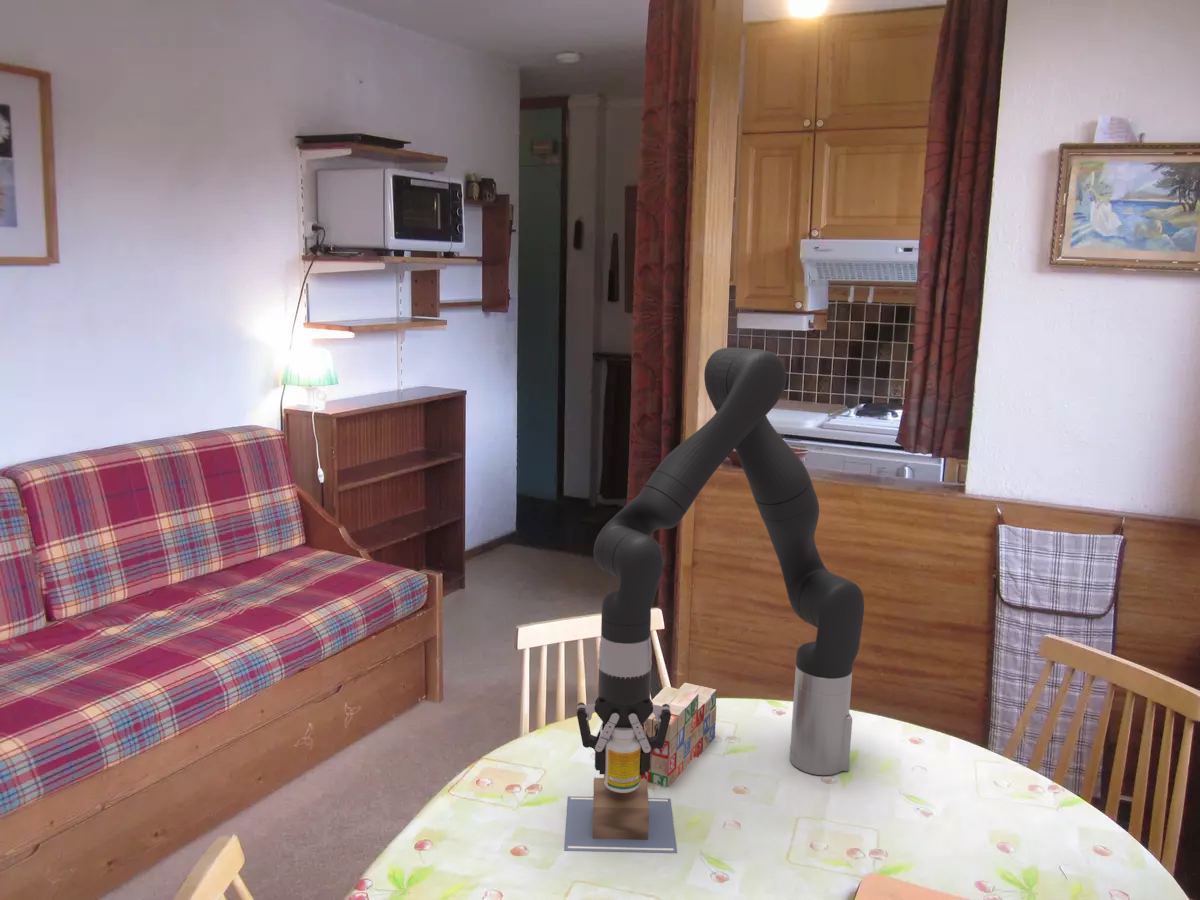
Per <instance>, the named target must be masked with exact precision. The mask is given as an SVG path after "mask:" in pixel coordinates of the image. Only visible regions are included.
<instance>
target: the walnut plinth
mask: <svg viewBox="0 0 1200 900" xmlns="http://www.w3.org/2000/svg"><path fill="white" fill-rule="evenodd" d="M592 797H593V839H631V840H648V828H649V800H648V798H649V791H648V781H647V779H640V784H639V786H638V788H637V789H635V790H634V791H632V792H628V793H618V792H615V791H612V790H610V789H608V788H607V787H606V786H605V784H604V777H593V796H592Z"/></svg>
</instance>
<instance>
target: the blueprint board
mask: <svg viewBox="0 0 1200 900" xmlns="http://www.w3.org/2000/svg"><path fill="white" fill-rule="evenodd" d="M648 800H649V828H648V840H631V839H593V796H578V795H577V796H576V795H575V796H573V795H572V796H570V795H568V796H567V801H566V802H567V803H566V814H565V815H566V816H565V829H564V830H565V834H564V847H563V851H565V852H592V853H593V852H595V853H596V852H598V853H603V852H604V853H636V854H637V853H640V854H641V853H643V854H644V853H645V854H646V853H647V854H678V849H677V841H676V832H675V824H674V817H673V809H672V801H671V798H661V797H660V798H657V797H648Z"/></svg>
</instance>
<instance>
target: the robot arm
mask: <svg viewBox="0 0 1200 900" xmlns="http://www.w3.org/2000/svg"><path fill="white" fill-rule="evenodd" d="M785 366H786V365H784V363H783V360H782V359H781V358H780V357H779V356H778V355H777V354H776V353H774V352H772V351H769V350H765V349H760V348H759V349H758V348H748V347H747V348H745V347H722V348H720V349H717V350H715V351H714V352H712V354H711V355H710V356H709V358H708V359H707V362H706V363H705V366H704V373H703V374H704V377H703V378H704V386H705V390H706V393H707V397H708V398H709V400H710V402H711V404H712V406H713V408H714V410H715V414H714V415H713V416H712V417H711V418H710V419H708V421H707V422H706V423H705V424H704V425H702V427H700V428H699V429H698V430H697V431H696V432H694V433H693V434H692V435H690V436H689V437H687V438H686V439H685V440H684V441H682V442H681V443H680V444H678V445H677V446H676V447H675V448H674V449H673V450H672V451H670V452H669V453H668V454H667V455H666V456H665V457H664V458H663V460H662V461H661V462H660V463H659V465H658V466H657V467H656V469H655V470H654V472H652V474H651V476H650V477H649V479H648V481H646V483H645V484H644V486H643V488H642V489H641V490H640V492H639V494H638V495H637V496H636V497H635V498H633V499H632V500H631V501H629V502H628V503H627V504H626V505H625V506H624V507H623V508H622V509H620V510H619V511H618V512H617V513H616V514H614V516H613V517H612V518H611V519H610V520H608V522H607V523H605V525H604V526H603V527H602V529H600V531H599V533H598V534H597V536H596V539H595V541H594V546H593V559H594V561H595V563H596V565H597V566H598V568H600V569H601V570H603V571H605V573H608V574H610V575H612V576H615V577H617V578H619V587H618V588H619V589H617V590H614V591H612V592H609V593H608V594H607V595H606V596H605V597H603V598H604V599H603V600H602V604H601V605H602V606H601V623H600V624H601V627H600V633H601V634H600V641H599V647H598V660H597V661H598V677H597V678H598V680H597V682H598V685H597V698H596V700H595V702H594V703H587V704H585V702H579V703H577V705H576V717H577V722H578V727H579V732H580V738H581V742H582V747H584V748H585V749H586V748H587V749H588V748H591V749H593V750H594V769H595V771H598V772H599V775H604V762H605V744H606V742H607V740H608V739H609V737H610V735H611V733H612V731H613V729H614V727H618V728H633V729H634V732H635V734H636V736H637V739H638V741H639V742H640V745H641V769H640V775H645V771H649V770H650V757H651V751H652V750H653V749H656V748H657V749H661V748H663V745H664V741H665V737H666V734H667V730H668V726H669V722H670V718H671V712H670V706H669V705H668V704H664V705H662V706H658V705H653V703H652V701H651V700H652V699H651V680H652V679H651V678H652V677H651V675H652V664H653V660H652V642H651V627H652V626H651V625H652V624H651V623H652V608H653V607H652V606H653V604H654V601H655V598H656V596H657V595H656V594H657V591H658V588H659V586H660V585H659V584H660V581H661V577H662V574H663V570H664V556H663V551H662V548H661V546H660V544H659V543H658V541H657V539H655V538H654V537H652V536H651V534H653V533H654V532H656V531H658V530H670V529H673V528H675V527H677V526H678V524H679V523H680V522H681V520H682V519H683V518H684V517H685V514H686V513H687V512H688V510H689V509H690V508H691V506H692V504H693V503H694V502H695V500H696V498H697V497H698V495H699V494H700V492H701V490H703V488H704V486H705V485H706V484H707V482H708V481H709V479H711V477H712V476H713V474H715V472H716V470H717V469H718V468H719V467H720V466H721V465H722V464H723V462H724V461H726V459H727V458H728V457H729V456H730V455H731V453H732V452H733V451H735V452H736V455H737V457H738V460H739V463H740V464H741V468H742V470H743V471H744V472H743V473H744V474H745V477H746V479H747V482H748V484H749V487H750V490H751V493H752V496H753V499H754V501H755V504H756V507H757V509H758V512H759V514H760V517H761V519H762V521H763V523H764V526H765V528H766V530H767V533H768V535H769V538H770V541H771V544H772V546H773V549H774V552H775V553H776V556H777V560H778V563H779V566H780V569H781V573H782V578H783V581H784V585H785V590H786V593H787V597H788V600H789V603H790V606H791V608H792V610H793V612H794V613H795V614H796V616H797V617H798V618H800V619H801V620H802V621H803V622H805V623H807V624H809V625H811V626H813V627H815V628H816V629H817V631H816V637H815V641H810V642H805V643H803V644H801V645H800V646H799V647H798V648H797V651H796V655H795V656H796V657H795V673H794V674H795V675H794V685H793V686H794V687H793V690H794V691H793V703H792V718H791V720H792V721H791V731H790V744H789V745H790V746H789V761H790V763H791V765H792V766H794V767H795V768H796V769H799V770H800V771H802V772H805V773H808V774H811V775H817V776H832V775H835V774H839V773H841V772H848V771H849V768H850V767H849V766H850V757H851V755H850V753H851V741H852V729H853V717H852V716H851V714H850V705H851V704H850V703H851V693H852V683H853V682H852V680H853V679H852V677H853V667H854V662H855V660H856V658H857V656H858V652H859V650H860V644H861V636H862V630H863V628H862V627H863V624H864V623H863V622H864V616H865V615H864V613H865V600H864V599H865V598H864V595H863V592H862V589H861V588H860V586H859V585H858V584H856V583H855V582H853V581H852V580H849V579H846V578H845V577H842V576H840V575H837V574H834V573H833V572H830V571H829V570H828V569H827V567H826V566H825V565H824V562H823V561H822V559H821V555H820V554H819V551H818V549H817V545H816V541H815V535H816V529H817V526H818V522H819V517H820V505H819V498H818V497H817V494H816V491H815V488H814V484H813V482H812V480H811V477H810V475H809V472H808V470H807V467H806V466H805V464H804V463H803V462H802V460H801V459H800V457H799V456H798V454H797V453H796V452H795V451H794V450H793V448H791V446H790V445H789V444H788V443H787V442H786V440H784V439H783V437H782V436H781V435H780V434H779V433H778V432H777V430H776V429H775V428H774V427H773V425H772V424H771V422H770V420H769V419H768V417H767V414H769V413H770V412H771V410H772V409H773V408H774V407H775V406H776V404H777V403H778V401H779V400H780V399H781V397H782V395H783V393H784V391H785V388H786V385H787V372H786V371H787V370H786V367H785ZM594 713H596V715H597V716H598V717H599V718H600V720H601V725H600V727H599V730H598V732H597V734H596V735H593V734H591V728H590V723H589V721H591V720H592V719H593V718H592V717H593V714H594ZM652 713H653V714H655V719H656V721H657V722H658V724H657V728H656V732H655V736H653V737H650V738H649V736H648V734H647V731H646V728H645V725H644V722H645V721H646V720H647V719H648V717H649V716H650V715H651V714H652Z"/></svg>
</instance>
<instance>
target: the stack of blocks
mask: <svg viewBox="0 0 1200 900" xmlns="http://www.w3.org/2000/svg"><path fill="white" fill-rule="evenodd" d="M651 701H652V703H653V705H658V706H662V705H664V704H668V705H669V706H670V712H671V718H670V722H669V726H668V730H667V734H666V737H665V741H664V745H663V748H661V749H657V748H656V749H653V750H652V751H651V757H650V770H649V771H645V775H640V779H647V783H651V784H655V785H659V786H662V787H665V788H669V787H671V785H672V783H673V782H675V780H677V778H678V777H679V776H680V775H681V773H682V772H683V771H685V769H686V768H687V766H689V764H690V763H691V761H692V760H693V758H699V756H700V755H701V754H702V753H703V752H704V751H705V750H706V749H707V748H708V746H709V744H710V743H712V742H713V740H714V739H715V737H716V723H717V722H716V721H717V705H716V704H717V689H715V688H711V687H706V686H703V685H697V684H693V683H689V682H684V683H683V684H682V685H681V686H680V687H679V688H675V687H672V686H667V685H666V686H664V687H663V688H662V689H661V690H660V691H659V692H658V693H657V694H656V695H655V696H654V698H652V699H651ZM657 724H658V722H657V721H656V719H655V714H653V713H652V714H651V715H650V716H649V717H648V719H647V720H646V721H645V722H644V725H645V728H646V731H647V734H648V736H649V738H650V737H653V736H655V732H656V728H657Z"/></svg>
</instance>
